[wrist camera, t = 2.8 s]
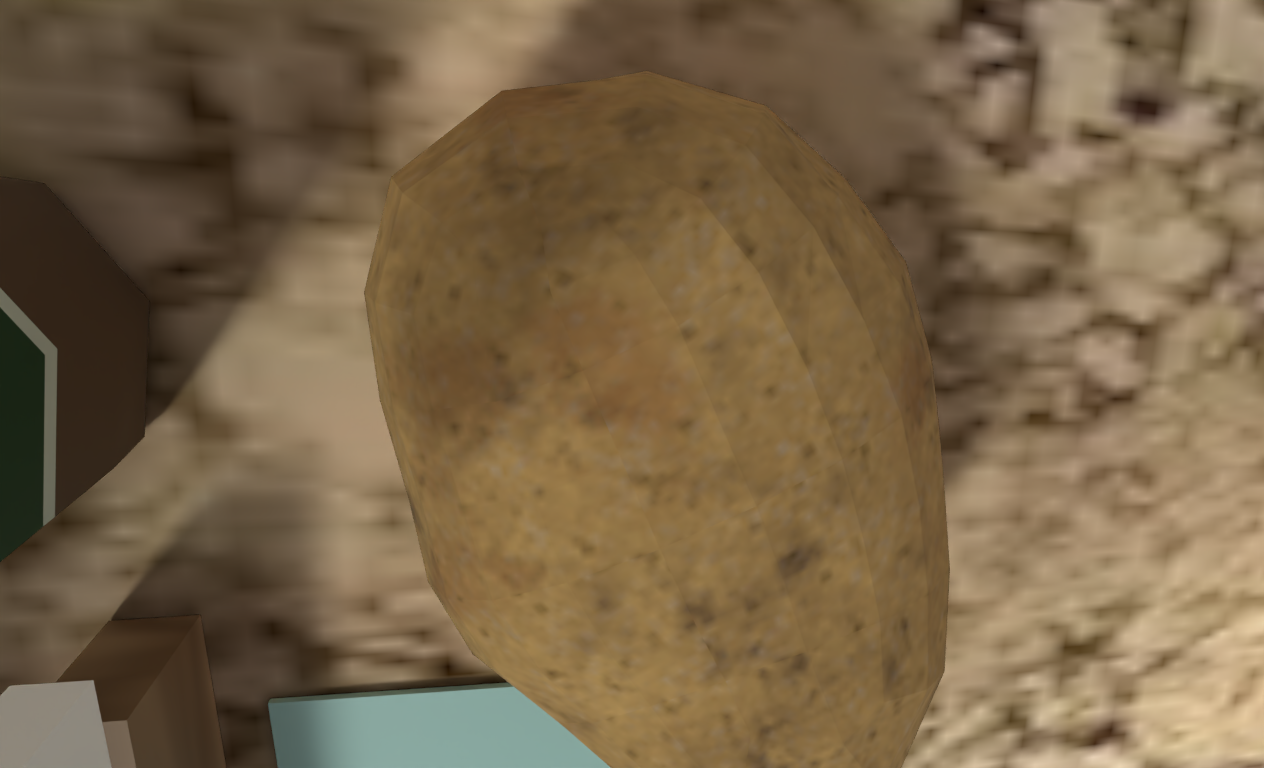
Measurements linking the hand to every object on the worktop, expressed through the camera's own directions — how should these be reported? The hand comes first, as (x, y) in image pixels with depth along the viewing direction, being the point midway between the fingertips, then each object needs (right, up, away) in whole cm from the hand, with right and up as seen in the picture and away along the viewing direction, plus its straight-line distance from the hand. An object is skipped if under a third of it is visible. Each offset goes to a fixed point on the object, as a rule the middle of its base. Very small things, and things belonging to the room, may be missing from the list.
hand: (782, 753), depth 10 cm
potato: (-1, +3, +12) cm, 13 cm away
